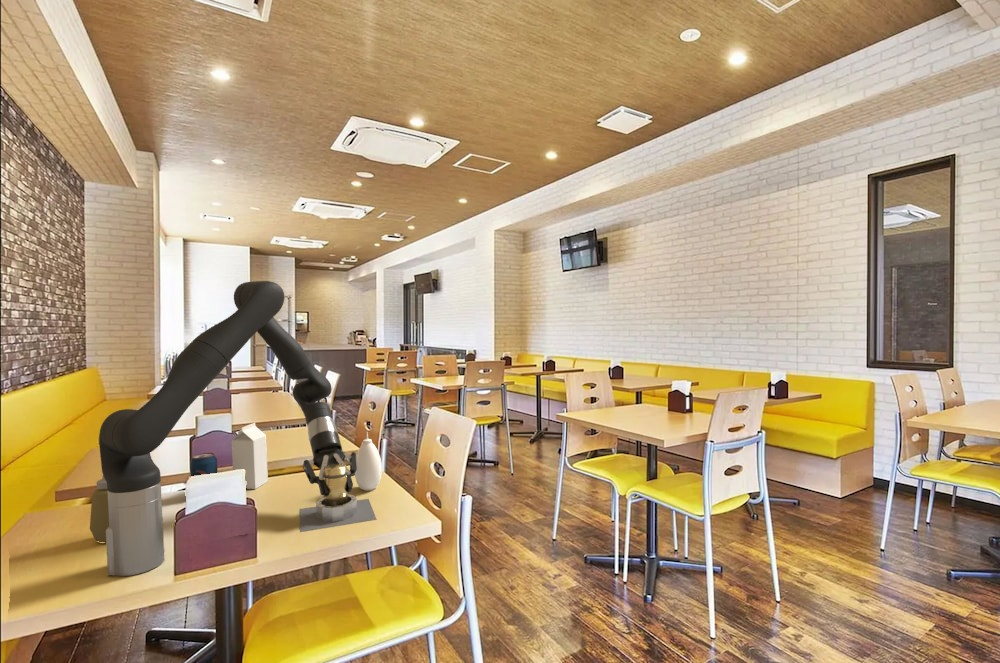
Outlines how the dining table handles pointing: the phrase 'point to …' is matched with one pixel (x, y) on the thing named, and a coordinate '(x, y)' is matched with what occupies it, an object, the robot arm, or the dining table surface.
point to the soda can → (203, 464)
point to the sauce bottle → (368, 466)
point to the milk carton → (251, 455)
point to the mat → (312, 523)
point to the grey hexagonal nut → (336, 510)
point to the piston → (336, 484)
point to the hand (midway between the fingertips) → (338, 492)
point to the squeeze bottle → (100, 511)
